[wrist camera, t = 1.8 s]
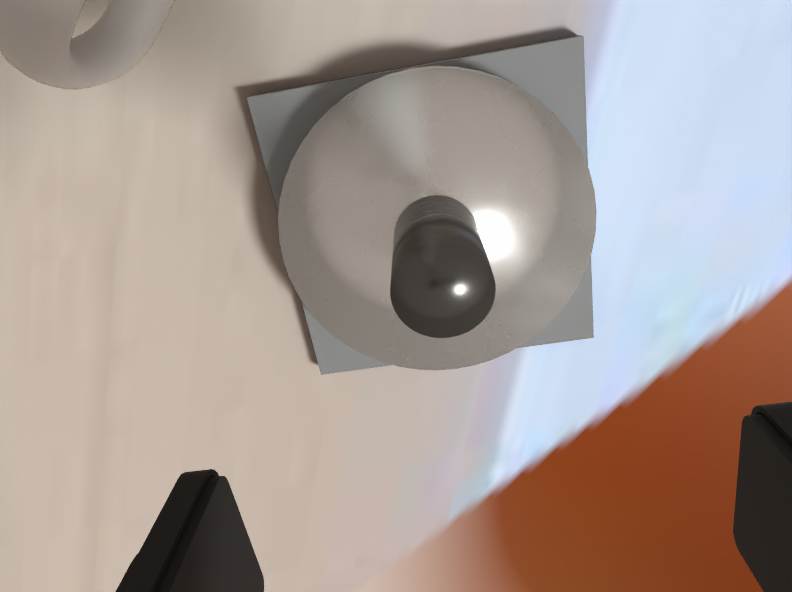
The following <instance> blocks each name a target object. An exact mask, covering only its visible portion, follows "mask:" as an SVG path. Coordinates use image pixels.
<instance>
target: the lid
mask: <svg viewBox="0 0 792 592" xmlns="http://www.w3.org/2000/svg"><path fill="white" fill-rule="evenodd" d="M278 229H279V242H280V247H281V252H282V257H283V261H284V264H285V267H286V270H287V273H288V276H289V278H290V280H291V282H292V284H293V286H294V288H295V290H296V292H297V294H298V296H299V297H300V299H301V300H302V302H303V303H304V305H305V306H306V308H307V309H308V311H309V312H310V313H311V314H312V315H313V316H314V317H315V319H316V320H317V321H318V322H319V323H320V324H321V325H322V326H323V327H324V328H325V329H326V330H328V331H329V332H330V333H331V334H332V335H333V336H334V337H336V338H337V339H339V340H340V341H342V342H343V343H344V344H346V345H347V346H349V347H351V348H352V349H354V350H356V351H358V352H360V353H362V354H364V355H366V356H368V357H371V358H373V359H376V360H378V361H381V362H384V363H388V364H392V365H395V366H399V367H405V368H412V369H419V370H445V369H457V368H462V367H467V366H472V365H476V364H480V363H483V362H486V361H489V360H492V359H495V358H497V357H499V356H502V355H504V354H506V353H508V352H510V351H512V350H514V349H516V348H517V347H519V346H521V345H522V344H524V343H526V342H527V341H529V340H530V339H531V338H533V337H534V336H535V335H537V334H538V333H539V332H541V331H542V330H543V329H544V328H545V327H546V326H547V325H548V324H549V323H550V322H551V321H552V320H553V319H554V318H555V317H556V316H557V315H558V314H559V313H560V311H561V310H562V309H563V308H564V307H565V305H566V304H567V303H568V301H569V300H570V298H571V297H572V295H573V293H574V292H575V290H576V289H577V287H578V285H579V283H580V281H581V279H582V277H583V275H584V272H585V270H586V268H587V265H588V261H589V258H590V255H591V252H592V248H593V242H594V237H595V231H596V203H595V193H594V188H593V184H592V180H591V176H590V172H589V169H588V166H587V164H586V162H585V159H584V157H583V154H582V152H581V150H580V148H579V147H578V145H577V143H576V142H575V140H574V138H573V136H572V135H571V133H570V132H569V131H568V129H567V128H566V127H565V126H564V125H563V123H562V122H561V121H560V120H559V118H558V117H557V116H556V115H555V114H554V113H553V112H552V111H550V110H549V109H548V108H547V107H546V106H545V105H544V104H543V103H542V102H541V101H539V100H538V99H536V98H535V97H533V96H532V95H530V94H529V93H527V92H526V91H525V90H523V89H522V88H520V87H519V86H517V85H515V84H513V83H511V82H509V81H506V80H504V79H502V78H500V77H498V76H495V75H492V74H489V73H486V72H483V71H480V70H476V69H470V68H465V67H459V66H441V65H431V66H422V67H413V68H408V69H404V70H400V71H396V72H392V73H388V74H386V75H384V76H381V77H379V78H376V79H374V80H371V81H369V82H367V83H365V84H364V85H362V86H360V87H358V88H357V89H355V90H353V91H352V92H350V93H348V94H347V95H346V96H345V97H343V98H342V99H341V100H340V101H338V102H337V103H336V104H334V105H333V106H332V107H331V108H330V109H329V110H328V111H327V112H326V113H325V114H324V115H323V116H322V117H321V118H320V119H319V120H318V122H317V123H316V124H315V125H314V126H313V128H312V129H311V130H310V132H309V133H308V135H307V136H306V137H305V139H304V140H303V141H302V143H301V144H300V146H299V148H298V150H297V152H296V154H295V156H294V157H293V159H292V161H291V163H290V166H289V169H288V172H287V174H286V177H285V180H284V183H283V188H282V192H281V197H280V202H279V215H278Z"/></svg>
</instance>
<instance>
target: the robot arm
mask: <svg viewBox="0 0 792 592" xmlns="http://www.w3.org/2000/svg"><path fill="white" fill-rule="evenodd" d="M733 533H734V539H735V542H736V545H737V548H738V550H739V552H740V554H741V555H742V557H743V558H744V560H745V562H746V563H747V565H748V567H749V568H750V570H751V572H752V573H753V575H754V577H755V578H756V580H757V581H758V583H759V585H760V586H761V588H762V589H763V591H764V592H792V402H785V403H777V404H769V405H760V406H756V407H754V408H753V410H752V413H751V415H748V416H745V417H744V418H743V421H742V429H741V442H740V454H739V466H738V478H737V490H736V502H735V514H734V526H733ZM116 592H264V579H263V575H262V572H261V569H260V566H259V564H258V561H257V558H256V555H255V553H254V550H253V547H252V545H251V542H250V539H249V536H248V534H247V531H246V528H245V526H244V523H243V520H242V518H241V515H240V512H239V509H238V507H237V504H236V501H235V499H234V496H233V493H232V490H231V488H230V485H229V482H228V480H227V478H226V477H225V476H219V475H218V473H217V472H216V471H215V470H212V469H210V470H201V471H193V472H185V473H183V474H181V475H180V477H179V478H178V480H177V482H176V484H175V486H174V488H173V489H172V491H171V493H170V495H169V497H168V499H167V501H166V503H165V505H164V506H163V508H162V510H161V512H160V514H159V516H158V518H157V520H156V521H155V523H154V525H153V527H152V529H151V531H150V533H149V535H148V536H147V538H146V540H145V542H144V544H143V546H142V548H141V550H140V552H139V553H138V554H137V555H136V557H135V558H134V559H133V561H132V562H131V564H130V566H129V568H128V570H127V572H126V573H125V575H124V577H123V579H122V581H121V583H120V585H119V587H118V588H117V590H116Z"/></svg>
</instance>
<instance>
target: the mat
mask: <svg viewBox="0 0 792 592" xmlns="http://www.w3.org/2000/svg"><path fill="white" fill-rule="evenodd" d="M431 65H441V66H459V67H465V68H470V69H476V70H480V71H483V72H486V73H489V74H492V75H495V76H498V77H500V78H502V79H504V80H506V81H509V82H511V83H513V84H515V85H517V86H519V87H520V88H522V89H523V90H525V91H526V92H527V93H529V94H530V95H532V96H533V97H535V98H536V99H538V100H539V101H541V102H542V103H543V104H544V105H545V106H546V107H547V108H548V109H549V110H550V111H552V112H553V113H554V114H555V115H556V116H557V117H558V118H559V120H560V121H561V122H562V123H563V125H564V126H565V127H566V128H567V129H568V131H569V132H570V133H571V135H572V136H573V138H574V140H575V142H576V143H577V145H578V147H579V148H580V150H581V152H582V154H583V157H584V159H585V162H586V164H587V166H588V157H587V127H586V98H585V68H584V39H583V36H574V37H568V38H563V39H557V40H552V41H546V42H541V43H535V44H530V45H525V46H519V47H514V48H508V49H503V50H497V51H492V52H486V53H481V54H475V55H470V56H465V57H459V58H454V59H448V60H443V61H437V62H432V63H426V64H421V65H415V66H410V67H405V68H399V69H394V70H388V71H383V72H377V73H372V74H366V75H361V76H355V77H350V78H345V79H339V80H334V81H328V82H323V83H317V84H312V85H306V86H301V87H295V88H290V89H285V90H279V91H274V92H268V93H263V94H257V95H252V96H249V97H247V101H248V105H249V108H250V112H251V116H252V119H253V123H254V127H255V131H256V134H257V138H258V142H259V145H260V149H261V153H262V157H263V160H264V164H265V168H266V172H267V175H268V179H269V183H270V186H271V190H272V194H273V198H274V201H275V205H276V209H277V212H278V215H279V202H280V197H281V192H282V188H283V183H284V180H285V177H286V174H287V172H288V169H289V166H290V163H291V161H292V159H293V157H294V156H295V154H296V152H297V150H298V148H299V146H300V144H301V143H302V141H303V140H304V139H305V137H306V136H307V135H308V133H309V132H310V130H311V129H312V128H313V126H314V125H315V124H316V123H317V122H318V120H319V119H320V118H321V117H322V116H323V115H324V114H325V113H326V112H327V111H328V110H329V109H330V108H331V107H332V106H333V105H334V104H336V103H337V102H338V101H340V100H341V99H342V98H343V97H345V96H346V95H347V94H348V93H350V92H352V91H353V90H355V89H357V88H358V87H360V86H362V85H364V84H365V83H367V82H369V81H371V80H374V79H376V78H379V77H381V76H384V75H386V74H388V73H392V72H396V71H400V70H404V69H408V68H413V67H422V66H431ZM301 302H302V300H301ZM302 305H303V309H304V313H305V317H306V320H307V324H308V328H309V332H310V335H311V339H312V343H313V346H314V350H315V354H316V358H317V361H318V365H319V369H320V372H321V375H322V374H330V373H337V372H344V371H352V370H359V369H366V368H374V367H381V366H388V365H392V364H388V363H384V362H381V361H378V360H376V359H373V358H371V357H368V356H366V355H364V354H362V353H360V352H358V351H356V350H354V349H352V348H351V347H349V346H347V345H346V344H344V343H343V342H342V341H340V340H339V339H337V338H336V337H334V336H333V335H332V334H331V333H330V332H329V331H328V330H326V329H325V328H324V327H323V326H322V325H321V324H320V323H319V322H318V321H317V320H316V319H315V317H314V316H313V315H312V314H311V313H310V312H309V311H308V309H307V308H306V306H305V305H304V303H303V302H302ZM587 338H594V335H593V305H592V275H591V255H590V258H589V261H588V265H587V268H586V270H585V272H584V275H583V277H582V279H581V281H580V283H579V285H578V287H577V289H576V290H575V292H574V293H573V295H572V297H571V298H570V300H569V301H568V303H567V304H566V305H565V307H564V308H563V309H562V310H561V311H560V313H559V314H558V315H557V316H556V317H555V318H554V319H553V320H552V321H551V322H550V323H549V324H548V325H547V326H546V327H545V328H544V329H543V330H542V331H541V332H539V333H538V334H537V335H535V336H534V337H533V338H531V339H530V340H529V341H527V342H526V343H524V344H522V345H521V346H519V347H517V348H521V347H528V346H535V345H543V344H550V343H557V342H565V341H572V340H579V339H587Z"/></svg>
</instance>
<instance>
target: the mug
mask: <svg viewBox="0 0 792 592" xmlns="http://www.w3.org/2000/svg"><path fill="white" fill-rule="evenodd" d="M174 1H175V0H111V1H110V3H109V5H108V7H107V9H106V11H105V12H104V13H103V15H102V16H101V18H100V19H99V20H98V21H97V23H96V24H95V25H94V26H93V27H92V28H90V29H89V30H88V31H86V32H85V33H83V34H81V35H79V36H77V37H75V38H73V39H71V38H72V34H73V31H74V28H75V25H76V22H77V19H78V17H79V14H80V12H81V9H82V7H83V5H84V3H85V0H0V51H1V53H2V54H3V55H4V57H5V58H6V60H7V61H8V62H9V63H10V64H12V65H13V66H14V67H15V68H17V69H18V70H19V71H21V72H22V73H23V74H25V75H26V76H27V77H29V78H31V79H33V80H35V81H37V82H40V83H42V84H45V85H49V86H52V87H57V88H62V89H83V88H89V87H93V86H97V85H100V84H103V83H107V82H109V81H111V80H114V79H116V78H118V77H120V76H121V75H123V74H124V73H126V72H128V71H129V70H130V69H131V68H133V67H134V66H135V65H136V64H137V63H138V62H139V61H140V60H141V59H142V58H143V57H144V55H145V54H146V53H147V51H148V50H149V49H150V47H151V46H152V44H153V42H154V41H155V39H156V37H157V35H158V34H159V32H160V30H161V28H162V26H163V24H164V22H165V20H166V17H167V15H168V13H169V11H170V9H171V7H172V5H173V3H174Z"/></svg>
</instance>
